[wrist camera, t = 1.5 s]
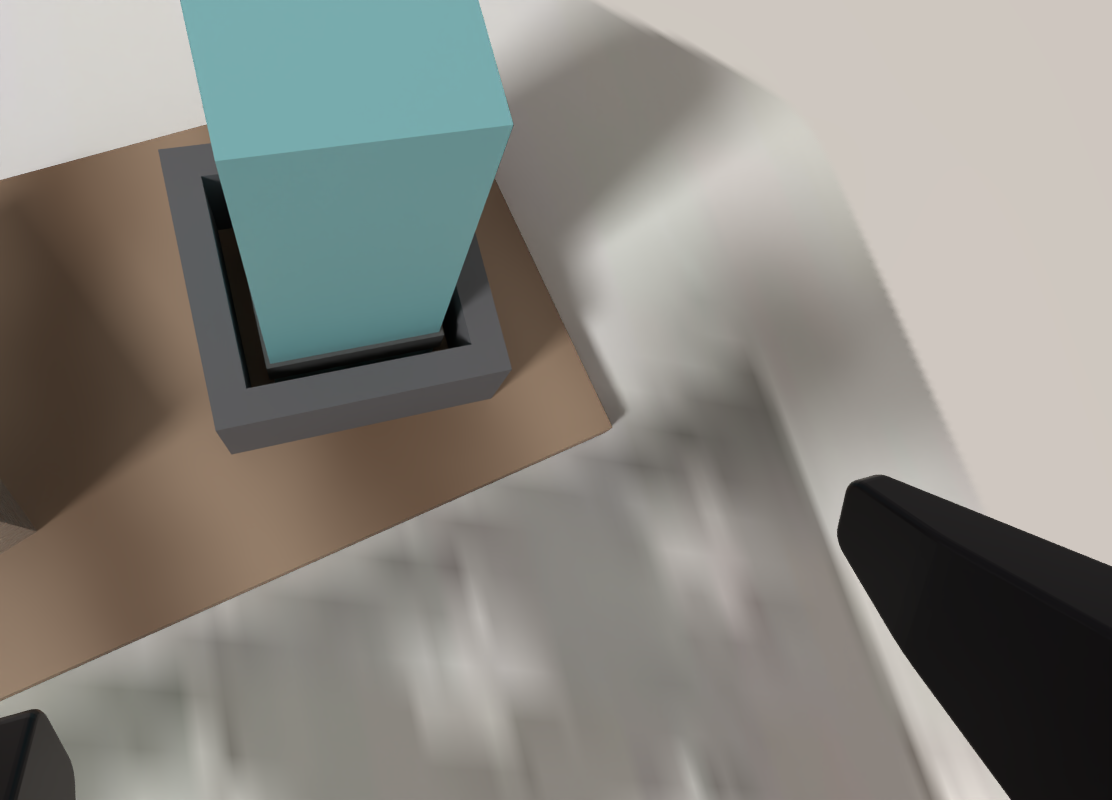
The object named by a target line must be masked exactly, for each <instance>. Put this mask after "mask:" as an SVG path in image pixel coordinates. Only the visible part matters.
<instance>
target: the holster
mask: <svg viewBox="0 0 1112 800" xmlns="http://www.w3.org/2000/svg"><path fill="white" fill-rule="evenodd" d="M158 152H159V157H160V162H161V167H162V172H163V177H164V182H165V187H166V191H167V196H168V201H169V206H170V211H171V216H172V221H173V226H174V231H175V235H176V240H177V245H178V250H179V255H180V260H181V265H182V270H183V274H184V279H185V284H186V289H187V294H188V299H189V304H190V309H191V313H192V318H193V323H194V328H195V333H196V338H197V343H198V348H199V353H200V357H201V362H202V367H203V372H204V377H205V382H206V387H207V392H208V396H209V401H210V406H211V411H212V416H213V421H214V426H215V431H216V432H217V434H218V435H219V437H220V438H221V440H222V441H223V443H224V444H225V446H226V447H227V449H228V450H229V452H230V453H231V455H232V454H237V453H241V452H246V451H251V450H255V449H260V448H264V447H269V446H274V445H278V444H283V443H288V442H292V441H297V440H301V439H306V438H311V437H315V436H320V435H325V434H329V433H334V432H338V431H343V430H348V429H352V428H357V427H362V426H366V425H371V424H375V423H380V422H385V421H389V420H394V419H399V418H403V417H408V416H413V415H417V414H422V413H426V412H431V411H436V410H440V409H445V408H450V407H454V406H459V405H463V404H468V403H473V402H477V401H482V400H487V399H491V398H492V397H493V395H494V394H495V392H496V391H497V390H498V388H499V387H500V385H501V384H502V383H503V381H504V380H505V378H506V377H507V376H508V374H509V373H510V371H511V370H512V368H511V364H510V360H509V356H508V353H507V349H506V345H505V341H504V338H503V334H502V330H501V327H500V323H499V319H498V315H497V312H496V308H495V304H494V300H493V297H492V293H491V289H490V286H489V282H488V278H487V274H486V271H485V267H484V263H483V259H482V256H481V252H480V248H479V245H478V241H477V237H476V233H474V236H473V239H472V242H471V244H470V247H469V250H468V253H467V256H466V258H465V261H464V264H463V267H462V269H461V272H460V275H459V278H458V281H457V283H456V286H455V289H454V292H453V294H452V297H451V300H450V303H449V306H448V308H447V311H446V314H445V317H444V319H443V322H442V325H443V329H444V333H445V337H446V341H447V345H448V349H446V350H440V351H435V352H430V353H425V354H420V355H415V356H410V357H405V358H400V359H395V360H389V361H384V362H379V363H374V364H369V365H364V366H359V367H354V368H349V369H344V370H338V371H333V372H328V373H323V374H318V375H313V376H308V377H303V378H298V379H293V380H287V381H282V382H277V383H272V384H267V385H262V386H257V387H251V382H250V378H249V373H248V368H247V364H246V359H245V354H244V350H243V345H242V340H241V336H240V331H239V326H238V322H237V317H236V312H235V308H234V303H233V298H232V294H231V289H230V284H229V280H228V275H227V270H226V266H225V261H224V256H223V251H222V247H221V242H220V237H219V233H218V230H222V229H229V228H233V226H232V222H231V218H230V215H229V211H228V207H227V204H226V200H225V196H224V193H223V189H222V185H221V182H220V178H219V174H218V171H217V167H216V163H215V159H214V155H213V150H212V145H211V143H209V144H200V145H192V146H183V147H174V148H166V149H158Z"/></svg>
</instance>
